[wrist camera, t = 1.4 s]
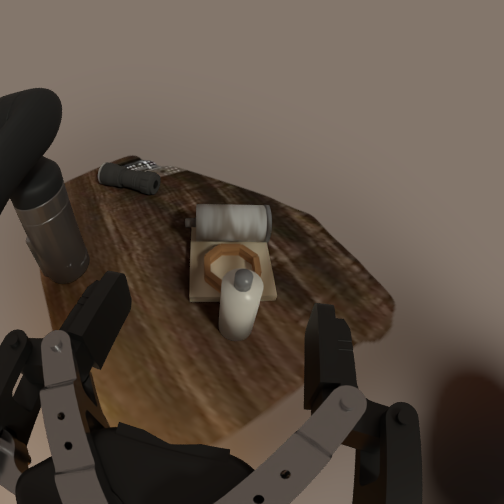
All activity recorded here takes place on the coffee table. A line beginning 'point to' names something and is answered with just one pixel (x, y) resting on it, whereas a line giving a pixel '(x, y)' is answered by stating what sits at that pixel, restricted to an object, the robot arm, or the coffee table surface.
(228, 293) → the white capped bottle
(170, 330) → the coffee table surface
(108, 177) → the flashlight
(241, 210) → the motor mount
